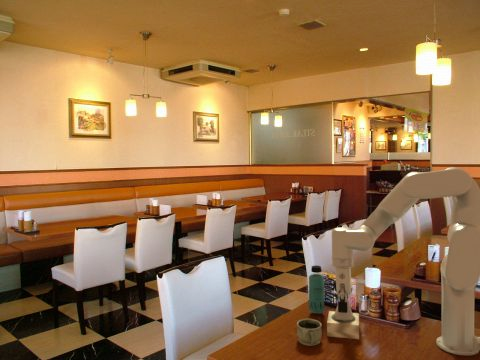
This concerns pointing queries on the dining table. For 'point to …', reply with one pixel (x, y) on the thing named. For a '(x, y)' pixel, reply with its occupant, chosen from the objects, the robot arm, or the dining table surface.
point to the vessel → (309, 331)
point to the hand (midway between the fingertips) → (343, 307)
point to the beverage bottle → (316, 291)
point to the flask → (344, 315)
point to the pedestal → (343, 326)
